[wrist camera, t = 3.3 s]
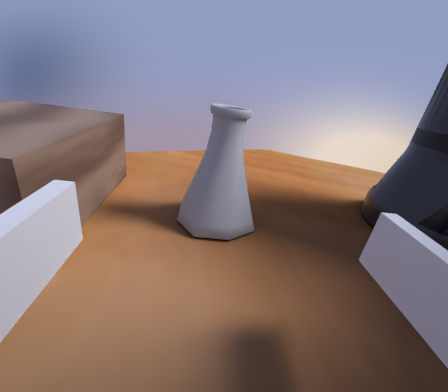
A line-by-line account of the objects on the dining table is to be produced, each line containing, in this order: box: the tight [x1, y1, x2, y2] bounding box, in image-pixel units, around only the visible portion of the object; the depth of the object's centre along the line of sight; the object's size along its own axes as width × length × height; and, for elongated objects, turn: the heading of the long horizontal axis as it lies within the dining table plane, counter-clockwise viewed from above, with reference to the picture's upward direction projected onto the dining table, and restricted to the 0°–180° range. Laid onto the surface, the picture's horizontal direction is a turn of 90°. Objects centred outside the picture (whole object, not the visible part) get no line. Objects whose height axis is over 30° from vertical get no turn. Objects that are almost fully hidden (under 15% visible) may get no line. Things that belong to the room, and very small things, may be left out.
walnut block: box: [0, 100, 126, 226], centre depth 19 cm, size 11×16×7 cm
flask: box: [177, 103, 254, 240], centre depth 20 cm, size 7×7×10 cm
